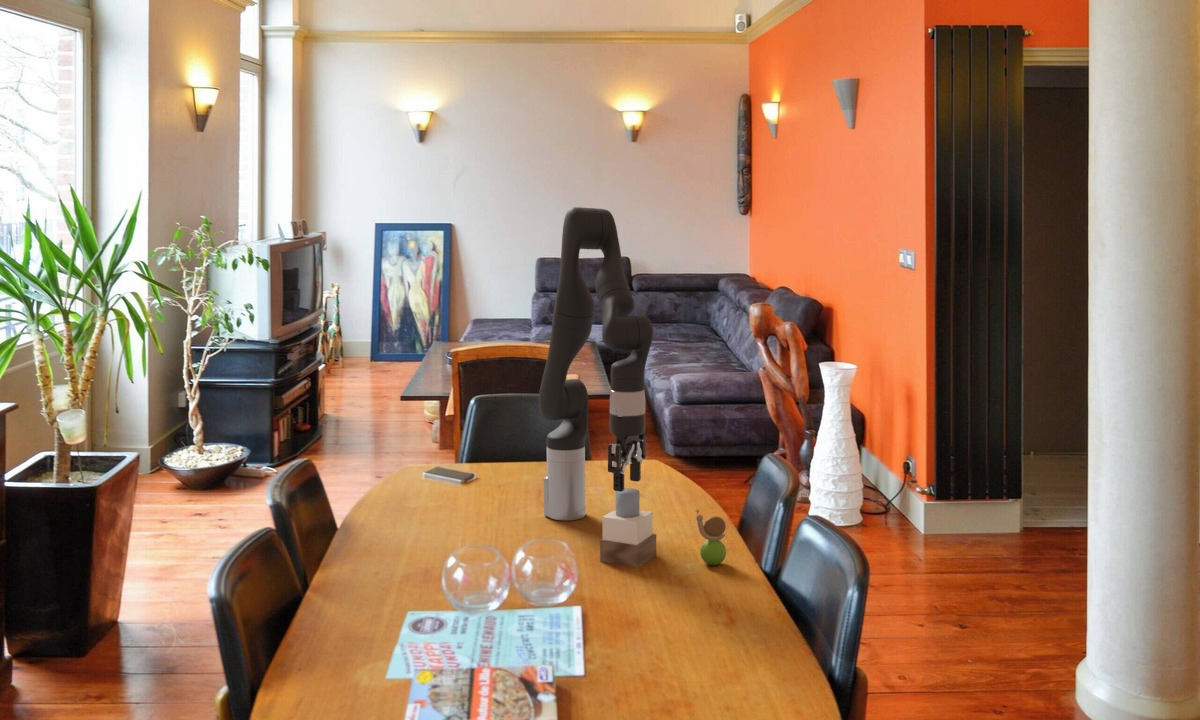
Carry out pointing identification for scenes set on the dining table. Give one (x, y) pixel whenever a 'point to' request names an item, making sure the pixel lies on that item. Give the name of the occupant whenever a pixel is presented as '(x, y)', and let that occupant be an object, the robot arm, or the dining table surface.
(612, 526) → the tower top
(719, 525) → the snail figurine
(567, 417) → the robot arm
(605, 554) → the tower base
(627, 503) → the grey blue cylinder
